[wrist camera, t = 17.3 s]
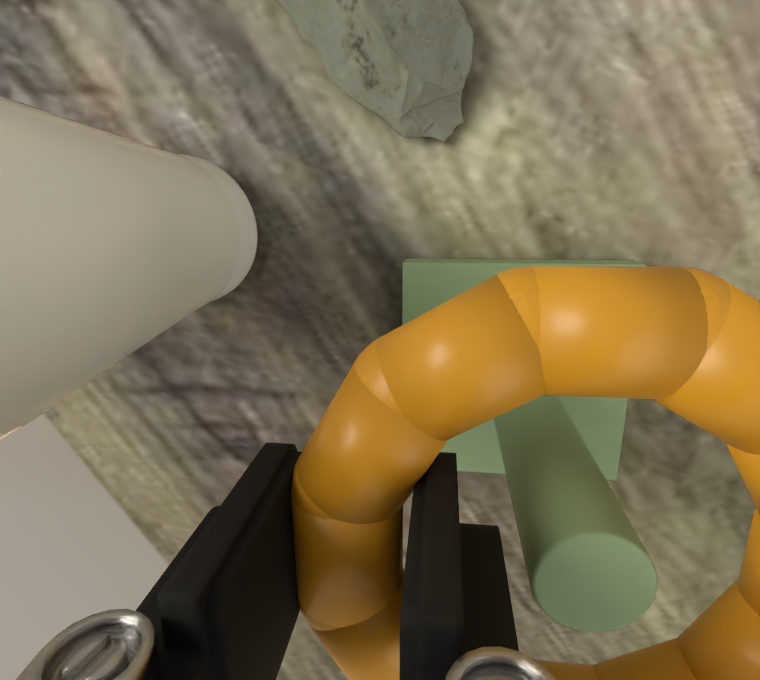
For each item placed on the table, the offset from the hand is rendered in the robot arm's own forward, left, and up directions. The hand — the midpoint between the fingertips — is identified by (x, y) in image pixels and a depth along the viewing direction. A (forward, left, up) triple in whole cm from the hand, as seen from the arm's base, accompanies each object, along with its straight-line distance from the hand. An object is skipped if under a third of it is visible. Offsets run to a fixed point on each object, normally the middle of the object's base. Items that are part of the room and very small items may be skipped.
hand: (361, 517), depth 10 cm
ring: (0, +4, 0) cm, 4 cm away
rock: (-12, -1, -10) cm, 16 cm away
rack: (0, +4, -10) cm, 11 cm away
